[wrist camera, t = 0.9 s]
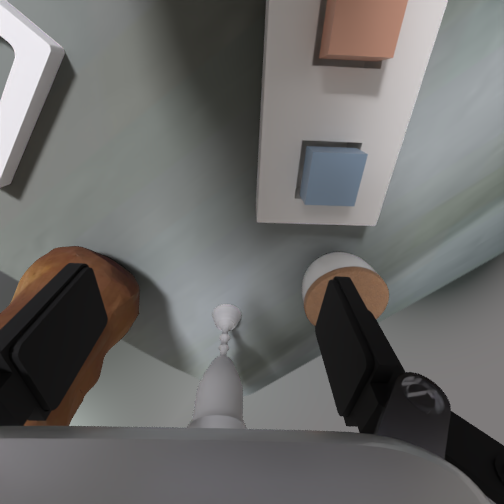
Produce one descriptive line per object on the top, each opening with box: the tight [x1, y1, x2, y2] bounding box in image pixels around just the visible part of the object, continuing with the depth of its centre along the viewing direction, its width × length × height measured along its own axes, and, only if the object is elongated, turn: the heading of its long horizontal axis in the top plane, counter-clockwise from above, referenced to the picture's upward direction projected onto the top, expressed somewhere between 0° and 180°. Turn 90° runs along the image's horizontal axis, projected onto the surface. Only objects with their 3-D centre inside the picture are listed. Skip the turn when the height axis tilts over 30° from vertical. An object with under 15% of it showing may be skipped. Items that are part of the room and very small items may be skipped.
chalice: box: [187, 304, 246, 429], centre depth 37 cm, size 7×7×18 cm
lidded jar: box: [302, 252, 389, 326], centre depth 36 cm, size 11×11×9 cm
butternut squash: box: [0, 246, 140, 426], centre depth 29 cm, size 14×13×25 cm
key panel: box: [256, 0, 448, 226], centre depth 26 cm, size 24×14×5 cm, turn 178°
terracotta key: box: [319, 0, 408, 62], centre depth 20 cm, size 5×5×3 cm
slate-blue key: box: [300, 146, 368, 206], centre depth 26 cm, size 5×5×3 cm
